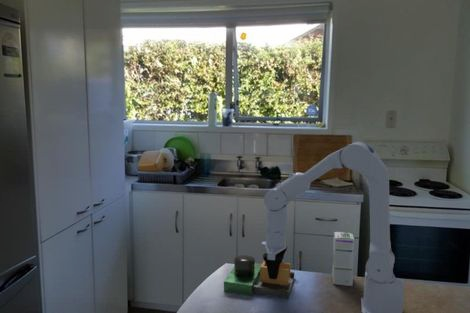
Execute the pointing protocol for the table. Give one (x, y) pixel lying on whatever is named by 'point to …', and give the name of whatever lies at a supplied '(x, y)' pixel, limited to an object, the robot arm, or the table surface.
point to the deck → (253, 280)
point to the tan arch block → (282, 274)
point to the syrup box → (343, 258)
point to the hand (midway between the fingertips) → (274, 274)
